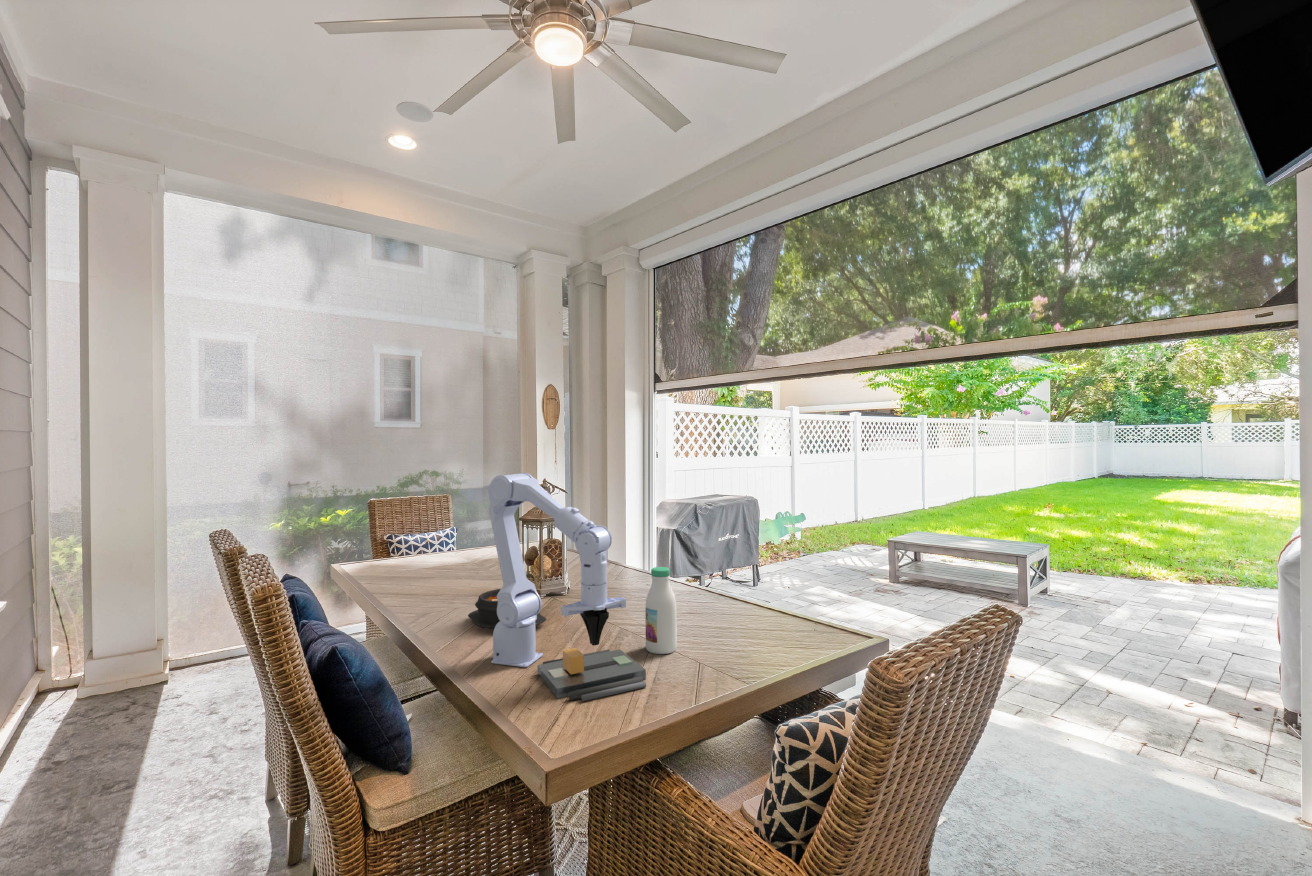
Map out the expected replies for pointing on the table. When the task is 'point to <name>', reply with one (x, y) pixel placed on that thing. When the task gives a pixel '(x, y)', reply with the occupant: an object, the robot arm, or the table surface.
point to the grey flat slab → (590, 672)
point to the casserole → (491, 611)
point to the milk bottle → (661, 614)
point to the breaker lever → (573, 661)
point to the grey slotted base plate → (604, 686)
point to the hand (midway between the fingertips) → (594, 643)
